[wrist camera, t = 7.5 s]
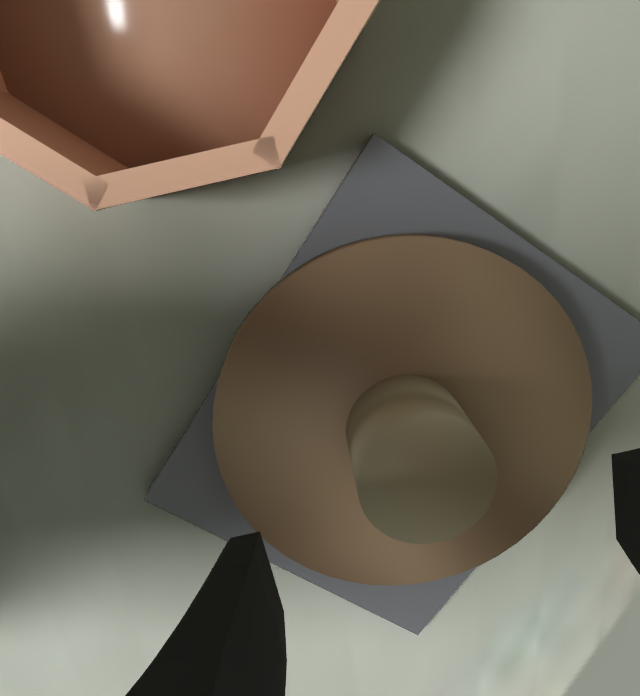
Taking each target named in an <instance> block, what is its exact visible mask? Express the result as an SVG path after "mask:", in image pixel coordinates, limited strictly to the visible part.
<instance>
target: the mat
mask: <svg viewBox="0 0 640 696" xmlns="http://www.w3.org/2000/svg"><path fill="white" fill-rule="evenodd" d="M411 233H416V234H427V235H437V236H443V237H448V238H452V239H456V240H460V241H465V242H467V243H470V244H472V245H475V246H478V247H480V248H483V249H485V250H488V251H490V252H492V253H495V254H497V255H499V256H501V257H502V258H504V259H506V260H508V261H509V262H511V263H513V264H515V265H516V266H518V267H520V268H522V269H523V270H524V271H525V272H527V273H528V274H529V275H531V276H532V277H533V278H534V279H536V280H537V281H538V282H540V283H541V284H542V285H543V286H544V287H545V288H546V290H547V291H548V292H549V293H550V294H551V295H552V296H553V297H554V298H555V299H556V300H557V301H558V303H559V304H560V305H561V307H562V308H563V310H564V311H565V313H566V314H567V316H568V317H569V318H570V320H571V322H572V324H573V326H574V328H575V330H576V332H577V334H578V336H579V338H580V340H581V342H582V345H583V348H584V352H585V355H586V358H587V361H588V365H589V371H590V378H591V384H592V413H591V421H590V429H589V432H590V431H591V430H592V429H593V428H594V426H595V425H596V424H597V423H598V422H599V420H600V419H601V418H602V417H603V416H604V415H605V413H606V412H607V411H608V410H609V409H610V407H611V406H612V405H613V404H614V403H615V402H616V400H617V399H618V398H619V397H620V396H621V394H622V393H623V392H624V391H625V390H626V389H627V387H628V386H629V385H630V384H631V383H632V381H633V380H634V379H635V378H636V377H637V376H638V374H639V373H640V321H639V320H638V319H636V318H635V317H633V316H632V315H630V314H629V313H628V312H626V311H625V310H623V309H622V308H621V307H619V306H618V305H616V304H615V303H613V302H612V301H611V300H609V299H608V298H606V297H605V296H604V295H602V294H601V293H599V292H598V291H596V290H595V289H594V288H592V287H591V286H589V285H588V284H587V283H585V282H584V281H582V280H581V279H580V278H578V277H577V276H575V275H574V274H572V273H571V272H570V271H568V270H567V269H565V268H564V267H563V266H561V265H560V264H558V263H557V262H555V261H554V260H553V259H551V258H550V257H548V256H547V255H546V254H544V253H543V252H541V251H540V250H538V249H537V248H536V247H534V246H533V245H531V244H530V243H529V242H527V241H526V240H524V239H523V238H521V237H520V236H519V235H517V234H516V233H514V232H513V231H512V230H510V229H509V228H507V227H506V226H505V225H503V224H502V223H500V222H499V221H497V220H496V219H495V218H493V217H492V216H490V215H489V214H488V213H486V212H485V211H483V210H482V209H480V208H479V207H478V206H476V205H475V204H473V203H472V202H471V201H469V200H468V199H466V198H465V197H463V196H462V195H461V194H459V193H458V192H456V191H455V190H454V189H452V188H451V187H449V186H448V185H446V184H445V183H444V182H442V181H441V180H439V179H438V178H437V177H435V176H434V175H432V174H431V173H430V172H428V171H427V170H425V169H424V168H422V167H421V166H420V165H418V164H417V163H415V162H414V161H413V160H411V159H410V158H408V157H407V156H405V155H404V154H403V153H401V152H400V151H398V150H397V149H396V148H394V147H393V146H391V145H390V144H388V143H387V142H386V141H384V140H383V139H381V138H380V137H379V136H377V135H376V134H372V135H371V137H370V138H369V140H368V141H367V143H366V145H365V146H364V148H363V149H362V151H361V153H360V154H359V156H358V157H357V159H356V161H355V162H354V164H353V165H352V167H351V169H350V170H349V172H348V173H347V175H346V176H345V178H344V180H343V181H342V183H341V184H340V186H339V188H338V189H337V191H336V192H335V194H334V196H333V197H332V199H331V200H330V202H329V204H328V205H327V207H326V208H325V210H324V211H323V213H322V215H321V216H320V218H319V219H318V221H317V223H316V224H315V226H314V227H313V229H312V231H311V232H310V234H309V235H308V237H307V239H306V240H305V242H304V243H303V245H302V247H301V248H300V250H299V251H298V253H297V254H296V256H295V258H294V259H293V261H292V262H291V264H290V266H289V267H288V269H287V270H286V272H285V274H284V275H283V277H282V278H281V279H283V278H284V277H285V276H286V275H288V274H289V273H290V272H291V271H293V270H295V269H296V268H298V267H299V266H301V265H302V264H304V263H306V262H307V261H309V260H310V259H312V258H314V257H316V256H318V255H320V254H322V253H325V252H327V251H329V250H331V249H333V248H335V247H338V246H341V245H344V244H348V243H351V242H354V241H357V240H360V239H365V238H370V237H376V236H382V235H388V234H411ZM217 383H218V380H217V382H216V383H215V385H214V387H213V388H212V390H211V391H210V393H209V395H208V396H207V398H206V399H205V401H204V403H203V404H202V406H201V407H200V409H199V411H198V412H197V414H196V415H195V417H194V418H193V420H192V422H191V423H190V425H189V426H188V428H187V430H186V431H185V433H184V434H183V436H182V438H181V439H180V441H179V442H178V444H177V446H176V447H175V449H174V450H173V452H172V454H171V455H170V457H169V458H168V460H167V461H166V463H165V465H164V466H163V468H162V469H161V471H160V473H159V474H158V476H157V477H156V479H155V481H154V482H153V484H152V485H151V487H150V489H149V490H148V492H147V494H146V496H145V498H144V500H145V501H147V502H149V503H151V504H153V505H155V506H157V507H159V508H161V509H163V510H165V511H167V512H169V513H171V514H173V515H175V516H178V517H180V518H182V519H184V520H186V521H188V522H190V523H192V524H194V525H196V526H198V527H200V528H202V529H204V530H206V531H208V532H210V533H212V534H214V535H216V536H218V537H220V538H222V539H224V540H226V541H229V540H230V538H232V537H236V536H241V535H245V534H250V533H255V532H256V531H255V530H254V529H253V528H252V527H251V525H250V524H249V523H248V522H247V520H246V519H245V518H244V517H243V515H242V514H241V513H240V512H239V510H238V508H237V506H236V505H235V503H234V501H233V500H232V498H231V496H230V495H229V493H228V490H227V488H226V486H225V483H224V481H223V478H222V476H221V474H220V470H219V466H218V462H217V458H216V454H215V450H214V440H213V430H212V424H213V404H214V399H215V393H216V388H217ZM262 540H263V543H264V546H265V550H266V553H267V556H268V560H269V562H271V563H273V564H275V565H277V566H279V567H281V568H283V569H285V570H287V571H289V572H291V573H293V574H295V575H297V576H299V577H301V578H303V579H305V580H307V581H309V582H311V583H313V584H315V585H317V586H319V587H321V588H323V589H325V590H327V591H329V592H331V593H333V594H336V595H338V596H340V597H342V598H344V599H346V600H348V601H350V602H352V603H354V604H356V605H358V606H360V607H362V608H364V609H366V610H368V611H370V612H372V613H374V614H376V615H378V616H380V617H382V618H384V619H386V620H388V621H390V622H392V623H394V624H396V625H398V626H400V627H402V628H404V629H406V630H408V631H410V632H412V633H415V634H417V635H419V633H420V632H421V631H422V630H423V629H424V627H425V626H426V625H427V624H428V623H429V622H430V620H431V619H432V618H433V617H434V616H435V614H436V613H437V612H438V611H439V610H440V609H441V607H442V606H443V605H444V604H445V603H446V601H447V600H448V599H449V598H450V597H451V596H452V594H453V593H454V592H455V591H456V590H457V588H458V587H459V586H460V585H461V584H462V582H463V581H464V580H465V579H466V578H467V577H468V575H469V574H470V573H471V572H472V571H473V569H474V568H475V567H474V568H472V569H469V570H467V571H464V572H462V573H460V574H457V575H453V576H450V577H446V578H443V579H439V580H436V581H430V582H424V583H418V584H411V585H395V586H386V585H367V584H361V583H355V582H348V581H344V580H340V579H337V578H333V577H330V576H326V575H323V574H321V573H318V572H316V571H314V570H311V569H309V568H306V567H304V566H302V565H301V564H299V563H297V562H295V561H293V560H292V559H290V558H288V557H286V556H285V555H283V554H282V553H281V552H279V551H278V550H277V549H275V548H274V547H273V546H271V545H270V544H269V543H268V542H266V541H265V540H264V539H263V538H262Z"/></svg>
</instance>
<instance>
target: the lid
mask: <svg viewBox="0 0 640 696" xmlns="http://www.w3.org/2000/svg"><path fill="white" fill-rule="evenodd" d="M591 413H592V384H591V378H590V371H589V365H588V361H587V358H586V355H585V352H584V348H583V345H582V342H581V340H580V338H579V336H578V334H577V332H576V330H575V328H574V326H573V324H572V322H571V320H570V318H569V317H568V316H567V314H566V313H565V311H564V310H563V308H562V307H561V305H560V304H559V303H558V301H557V300H556V299H555V298H554V297H553V296H552V295H551V294H550V293H549V292H548V291H547V290H546V288H545V287H544V286H543V285H542V284H541V283H540V282H538V281H537V280H536V279H534V278H533V277H532V276H531V275H529V274H528V273H527V272H525V271H524V270H523V269H522V268H520V267H518V266H516V265H515V264H513V263H511V262H509V261H508V260H506V259H504V258H502V257H501V256H499V255H497V254H495V253H492V252H490V251H488V250H485V249H483V248H480V247H478V246H475V245H472V244H470V243H467V242H465V241H460V240H456V239H452V238H448V237H443V236H437V235H427V234H416V233H411V234H388V235H382V236H376V237H370V238H365V239H360V240H357V241H354V242H351V243H348V244H344V245H341V246H338V247H335V248H333V249H331V250H329V251H327V252H325V253H322V254H320V255H318V256H316V257H314V258H312V259H310V260H309V261H307V262H306V263H304V264H302V265H301V266H299V267H298V268H296V269H295V270H293V271H291V272H290V273H289V274H288V275H286V276H285V277H284V278H283V279H281V280H280V281H279V282H278V283H277V284H275V285H274V286H273V287H272V288H271V289H270V290H269V291H268V292H267V293H266V294H265V295H264V296H263V297H262V299H261V300H260V301H259V302H258V303H257V304H256V305H255V306H254V307H253V309H252V310H251V312H250V313H249V315H248V316H247V317H246V319H245V320H244V322H243V323H242V325H241V326H240V328H239V330H238V332H237V334H236V336H235V338H234V339H233V341H232V343H231V345H230V347H229V350H228V353H227V356H226V358H225V361H224V364H223V367H222V370H221V373H220V376H219V379H218V383H217V388H216V393H215V399H214V404H213V424H212V430H213V440H214V450H215V454H216V458H217V462H218V466H219V470H220V474H221V476H222V478H223V481H224V483H225V486H226V488H227V490H228V493H229V495H230V496H231V498H232V500H233V501H234V503H235V505H236V506H237V508H238V510H239V512H240V513H241V514H242V515H243V517H244V518H245V519H246V520H247V522H248V523H249V524H250V525H251V527H252V528H253V529H254V530H255V531H256V532H259V531H260V533H261V536H262V538H263V539H264V540H265V541H266V542H268V543H269V544H270V545H271V546H273V547H274V548H275V549H277V550H278V551H279V552H281V553H282V554H283V555H285V556H286V557H288V558H290V559H292V560H293V561H295V562H297V563H299V564H301V565H302V566H304V567H306V568H309V569H311V570H314V571H316V572H318V573H321V574H323V575H326V576H330V577H333V578H337V579H340V580H344V581H348V582H355V583H361V584H367V585H386V586H395V585H411V584H418V583H424V582H430V581H436V580H439V579H443V578H446V577H450V576H453V575H457V574H460V573H462V572H464V571H467V570H469V569H472V568H474V567H477V566H479V565H481V564H483V563H485V562H487V561H489V560H491V559H492V558H494V557H496V556H498V555H500V554H501V553H503V552H504V551H506V550H507V549H509V548H510V547H511V546H513V545H514V544H516V543H517V542H519V541H520V540H521V539H522V538H523V537H524V536H526V535H527V534H528V533H529V532H530V531H532V530H533V529H534V528H535V527H536V526H537V525H538V524H539V523H540V522H541V521H542V519H543V518H544V517H545V516H546V515H547V514H548V513H549V512H550V511H551V510H552V508H553V507H554V505H555V504H556V503H557V501H558V500H559V499H560V497H561V496H562V495H563V493H564V492H565V490H566V488H567V486H568V485H569V483H570V481H571V479H572V478H573V476H574V474H575V472H576V469H577V467H578V465H579V462H580V460H581V457H582V455H583V452H584V449H585V445H586V441H587V438H588V434H589V429H590V421H591Z"/></svg>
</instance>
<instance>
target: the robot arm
mask: <svg viewBox="0 0 640 696" xmlns="http://www.w3.org/2000/svg"><path fill="white" fill-rule="evenodd" d="M612 471H613V488H614V505H615V523H616V539H617V541H618V542H619V544H620V545H621V547H622V548H623V550H624V552H625V553H626V555H627V556H628V558H629V559H630V561H631V563H632V564H633V566H634V567H635V569H636V570H637V571H638V573H639V574H640V448H639V449H635V450H630V451H625V452H621V453H616V454H612ZM286 665H287V658H286V638H285V623H284V610H283V607H282V604H281V600H280V597H279V593H278V590H277V587H276V583H275V580H274V577H273V573H272V570H271V566H270V563H269V560H268V556H267V553H266V550H265V546H264V543H263V540H262V536H261V533H260V531H259V532H255V533H250V534H245V535H241V536H236V537H232V538H230V540H229V541H228V543H227V544H226V546H225V548H224V549H223V551H222V553H221V554H220V556H219V558H218V560H217V561H216V563H215V565H214V567H213V568H212V570H211V572H210V574H209V575H208V577H207V579H206V580H205V582H204V584H203V586H202V587H201V589H200V591H199V592H198V594H197V595H196V597H195V599H194V600H193V602H192V603H191V605H190V607H189V608H188V610H187V611H186V613H185V615H184V616H183V618H182V619H181V621H180V622H179V624H178V625H177V627H176V628H175V630H174V631H173V633H172V634H171V636H170V637H169V638H168V640H167V641H166V643H165V644H164V646H163V647H162V649H161V650H160V652H159V653H158V654H157V656H156V657H155V659H154V660H153V661H152V663H151V664H150V665H149V667H148V668H147V669H146V671H145V672H144V673H143V675H142V676H141V677H140V678H139V680H138V681H137V682H136V683H135V684H134V686H133V687H132V688H131V689H130V691H129V692H128V693H127V694H126V695H125V696H285V686H286Z"/></svg>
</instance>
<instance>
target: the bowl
mask: <svg viewBox="0 0 640 696" xmlns="http://www.w3.org/2000/svg"><path fill="white" fill-rule="evenodd" d="M380 1H381V0H0V154H1V155H2V156H4V157H6V158H7V159H9V160H11V161H12V162H14V163H16V164H17V165H19V166H21V167H22V168H24V169H26V170H27V171H29V172H31V173H32V174H34V175H36V176H37V177H39V178H41V179H42V180H44V181H46V182H47V183H49V184H51V185H53V186H54V187H56V188H58V189H59V190H61V191H63V192H64V193H66V194H68V195H69V196H71V197H73V198H74V199H76V200H78V201H79V202H81V203H83V204H84V205H86V206H88V207H89V208H91V209H92V211H93V210H94V211H98V210H102V209H106V208H109V207H113V206H117V205H121V204H124V203H128V202H132V201H136V200H141V199H145V198H150V197H154V196H158V195H163V194H167V193H171V192H176V191H180V190H185V189H189V188H193V187H198V186H202V185H206V184H211V183H215V182H220V181H224V180H228V179H233V178H237V177H242V176H246V175H250V174H255V173H259V172H263V171H268V170H272V169H279V168H281V167H282V166H283V163H284V161H285V160H286V158H287V156H288V155H289V153H290V151H291V150H292V148H293V146H294V145H295V143H296V141H297V139H298V138H299V136H300V134H301V133H302V131H303V129H304V128H305V126H306V124H307V123H308V121H309V119H310V118H311V116H312V114H313V113H314V111H315V109H316V108H317V106H318V104H319V102H320V101H321V99H322V97H323V96H324V94H325V92H326V91H327V89H328V87H329V86H330V84H331V82H332V81H333V79H334V77H335V76H336V74H337V72H338V71H339V69H340V67H341V66H342V64H343V62H344V60H345V59H346V57H347V55H348V54H349V52H350V50H351V49H352V47H353V45H354V44H355V42H356V40H357V39H358V37H359V35H360V34H361V32H362V30H363V29H365V27H366V26H367V24H368V22H369V20H370V19H371V17H372V15H373V13H374V11H375V10H376V8H377V6H378V4H379V3H380Z"/></svg>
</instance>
